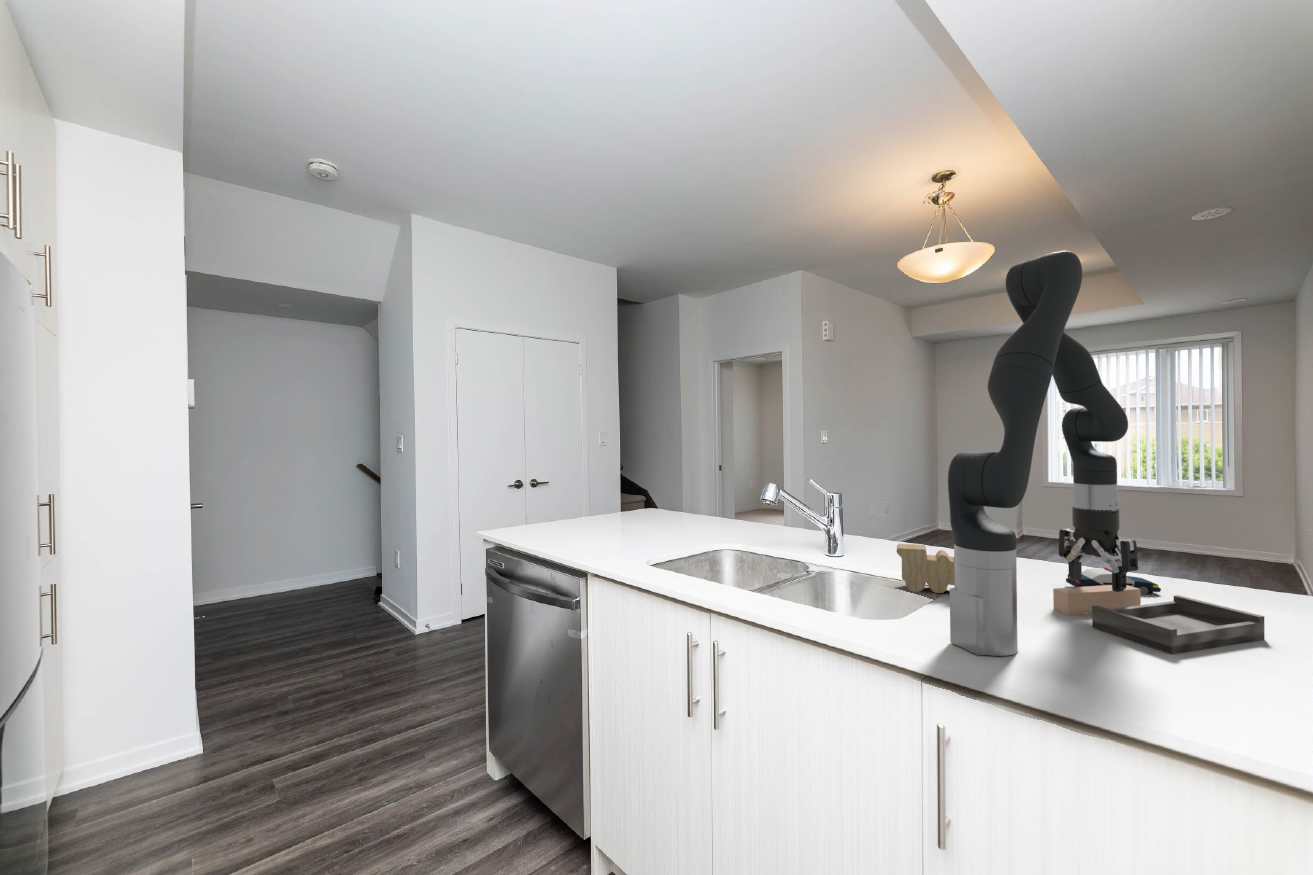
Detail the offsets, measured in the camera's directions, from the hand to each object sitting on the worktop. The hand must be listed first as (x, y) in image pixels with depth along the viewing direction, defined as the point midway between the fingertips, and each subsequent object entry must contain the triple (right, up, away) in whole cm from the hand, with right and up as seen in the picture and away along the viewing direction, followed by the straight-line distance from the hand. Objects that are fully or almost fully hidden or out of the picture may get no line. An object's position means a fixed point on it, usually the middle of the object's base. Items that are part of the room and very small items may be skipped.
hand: (1096, 585), depth 115 cm
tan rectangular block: (0, -5, 0) cm, 5 cm away
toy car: (+13, -5, +13) cm, 19 cm away
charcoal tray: (+3, -5, -14) cm, 15 cm away
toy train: (-25, -5, +15) cm, 29 cm away
